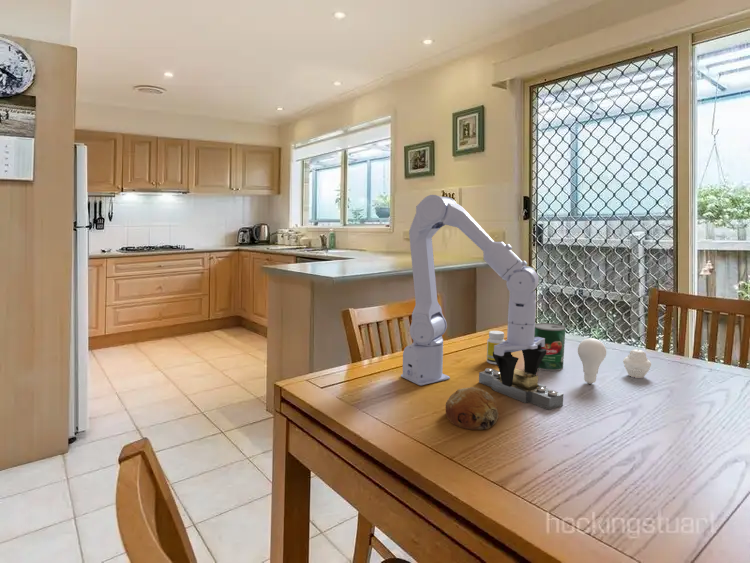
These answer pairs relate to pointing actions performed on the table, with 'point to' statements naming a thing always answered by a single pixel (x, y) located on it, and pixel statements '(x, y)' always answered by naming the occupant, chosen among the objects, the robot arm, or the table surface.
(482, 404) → the bread roll
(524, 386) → the link
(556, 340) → the canned tomato
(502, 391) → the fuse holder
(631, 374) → the muffin
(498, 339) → the supplement bottle
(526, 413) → the table surface
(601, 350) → the lightbulb
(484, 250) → the robot arm
